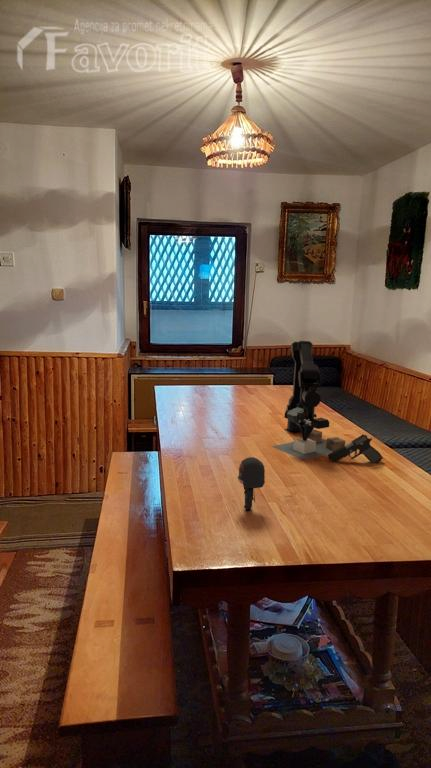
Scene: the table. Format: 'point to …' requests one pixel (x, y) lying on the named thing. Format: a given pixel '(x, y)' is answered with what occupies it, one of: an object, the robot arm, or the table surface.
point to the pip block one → (315, 436)
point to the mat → (319, 451)
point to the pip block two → (334, 443)
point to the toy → (251, 478)
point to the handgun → (357, 444)
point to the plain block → (304, 445)
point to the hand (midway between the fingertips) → (304, 440)
